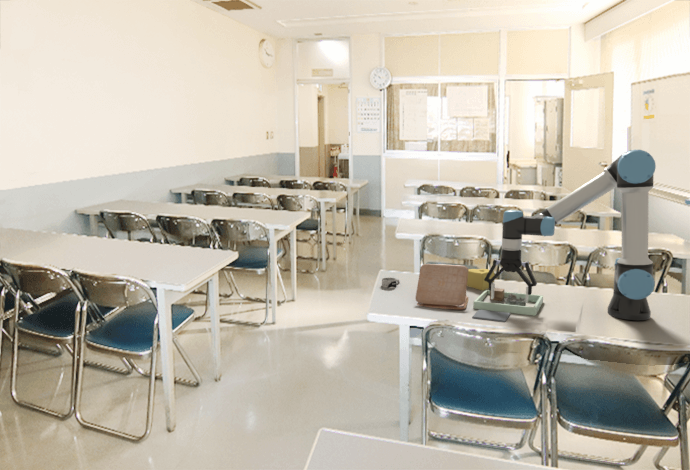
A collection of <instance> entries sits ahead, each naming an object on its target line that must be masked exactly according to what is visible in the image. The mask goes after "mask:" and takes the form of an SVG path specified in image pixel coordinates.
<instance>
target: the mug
mask: <svg viewBox="0 0 690 470" xmlns="http://www.w3.org/2000/svg"><path fill="white" fill-rule="evenodd" d="M398 283H399V284H401V283H400V279H398V278H396V277H382V278H381V286H382V288H386V289H395V288H397V284H398Z"/></svg>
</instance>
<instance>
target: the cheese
mask: <svg viewBox="0 0 690 470" xmlns="http://www.w3.org/2000/svg"><path fill="white" fill-rule="evenodd" d="M489 270H490V269H489V268H479V269H478V268H468V280H467V287H469V288H472V289H476V290H479V291H483V292H484V291H485V290H489V283H488V282H487V281H485V280H484V279H485V277H486V276H487V274H488V272H489ZM495 274H496V272H495V270H494V271H493V272H492V274H491V276H490V278H489V279H491V278H492V277H493V276H494V275H495ZM493 282H494V283H495V280H494V281H493Z"/></svg>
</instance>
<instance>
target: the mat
mask: <svg viewBox="0 0 690 470" xmlns="http://www.w3.org/2000/svg"><path fill="white" fill-rule="evenodd" d="M510 315H511V313H507V312H499V311H490V310H481V309H477V311H476V312H475V313H474V314H473V315H472V319H477V320H486V321H494V322H502V323H505V322H507V320H508V318H509V317H510Z"/></svg>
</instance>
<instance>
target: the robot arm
mask: <svg viewBox="0 0 690 470" xmlns="http://www.w3.org/2000/svg"><path fill="white" fill-rule="evenodd" d="M656 167H657V166H656V160H655V159H654V157H653V156H652V155H651V154H650V153H649V152H647V151H645V150H642V149H630V150H628V151H626V152H624V153H622V154H621V155H620V156H619V157H617V159H615V160H614V161H612V163H610V164H609V165H607V166H606V167H604V169H603V171H602V173H600V174H598V175H597V176H595V177H594V178H592V179H590V180H588V181H587V182H585V183H584V184H582V185H581V186H579V187H577V188H576V189H575V190H573V191H572V192H570V193H568V194H567V195H564V197H562V198H560V199H559V200H557V201H555V202H554V203H551V205H549V206H547V208H545V209H543V210H542V211H540V212H538V213H536V214H535V215H531V216H530V215H524V212H523V211H522V210H514V209H511V210H510V209H509V210H505V211H504V212H503V217H502V237H501V238H502V239H501V259H500V260H499V259H497V258H495V259H494V260H493V261H492V266H491V267H490V269H489V272H488V274H487V276H486V277H485V279H484V280H485V281H487V282H488V283H489V288H488V290H489V291H491V299H493V298H494V288H495V285H496V284H495V280H496V279H497V278H498V277H499V276H500V275H501V274H502V273H503V272H504V271H505V272H506V273H509V272H510V273H517V274H518V275H519V277H520V278H521V279H522V280H523V282H524V283H525V284H526V287H525V294H526V301H525V303H526V304H528V303H529V301H528V300H529V295H531V294H532V291H533V287H536V286H537V285H538V282H537V281H536V278H535V276H534V274H533V271H532V270H531V267H530V262H529V261H524V262H523V261H522V247H523V246H522V243H523V241H522V240H523V235H524V236H537V237H538V236H539V237H541V236H542V237H552V236H554V235H555V230H556V229H555V227H556V225H557V224H558V223H560V222H562V221H564V220H565V219H566V218H569V217H570V216H572V215H574V214H575V213H576V212H578V211H579V210H582V209H583V208H584V207H586V206H588V205H590V204H591V203H592V202H594V201H597V199H599V198H601V197H603V196H604V195H606V194H608V193H610V192H611V191H612V190H614V189H617V190H619V192H621V257H616V259H615V262H614V277H613V293H612V297H611V299H610V301H609V304H608V306H607V314H608V315H609V316H612V317H613V318H617V319H621V320H628V321H646V320H650V319H651V313H652V312H651V308H650V306H649V302H648V299H647V298H648V297H649V296H651V294H652V293H653V292H654V290H655V285H656V281H655V279H654V262H653V260H651V259H650V258H649V192H650V191H651V190H652V189H653V188H654V174H655V171H656ZM499 264H500V266H501V268H500V269H499V270H498V271H497V272H495V269H496V267H497V266H498V265H499ZM522 266H523V268H525V271H526V273H527V275H528V277H529V278H528V277H527V276H526V274H525V273H524V272H523V270H522V269H521V267H522ZM493 271H494V272H495V275H494V276H493V277H492V278H491V279H489V278H490V276H491V274H492V272H493ZM493 281H494V282H493Z"/></svg>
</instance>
